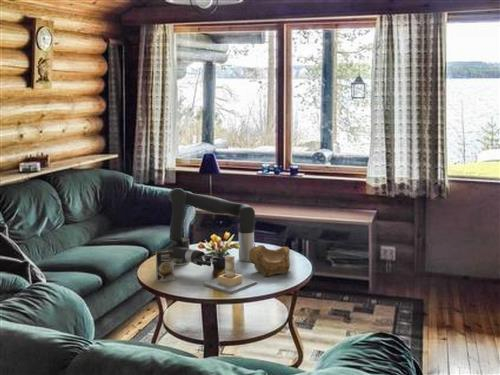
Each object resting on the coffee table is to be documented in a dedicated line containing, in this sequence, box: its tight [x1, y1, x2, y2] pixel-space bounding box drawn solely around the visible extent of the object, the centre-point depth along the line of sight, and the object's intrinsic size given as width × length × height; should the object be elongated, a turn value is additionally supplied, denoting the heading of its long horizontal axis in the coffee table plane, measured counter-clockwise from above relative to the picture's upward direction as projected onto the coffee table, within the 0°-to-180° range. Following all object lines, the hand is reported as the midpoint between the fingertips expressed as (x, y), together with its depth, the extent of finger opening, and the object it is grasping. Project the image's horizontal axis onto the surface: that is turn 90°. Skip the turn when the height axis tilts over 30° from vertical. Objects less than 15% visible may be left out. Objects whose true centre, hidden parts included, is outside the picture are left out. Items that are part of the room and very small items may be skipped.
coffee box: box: [155, 248, 175, 283], centre depth 301 cm, size 9×6×16 cm
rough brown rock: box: [249, 244, 291, 278], centre depth 310 cm, size 23×17×15 cm
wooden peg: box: [224, 254, 236, 279], centre depth 293 cm, size 5×5×14 cm
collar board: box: [202, 273, 258, 295], centre depth 294 cm, size 20×20×5 cm
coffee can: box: [171, 236, 191, 266], centre depth 331 cm, size 10×10×14 cm
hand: (216, 262), depth 300 cm, fingers open, 8 cm apart
